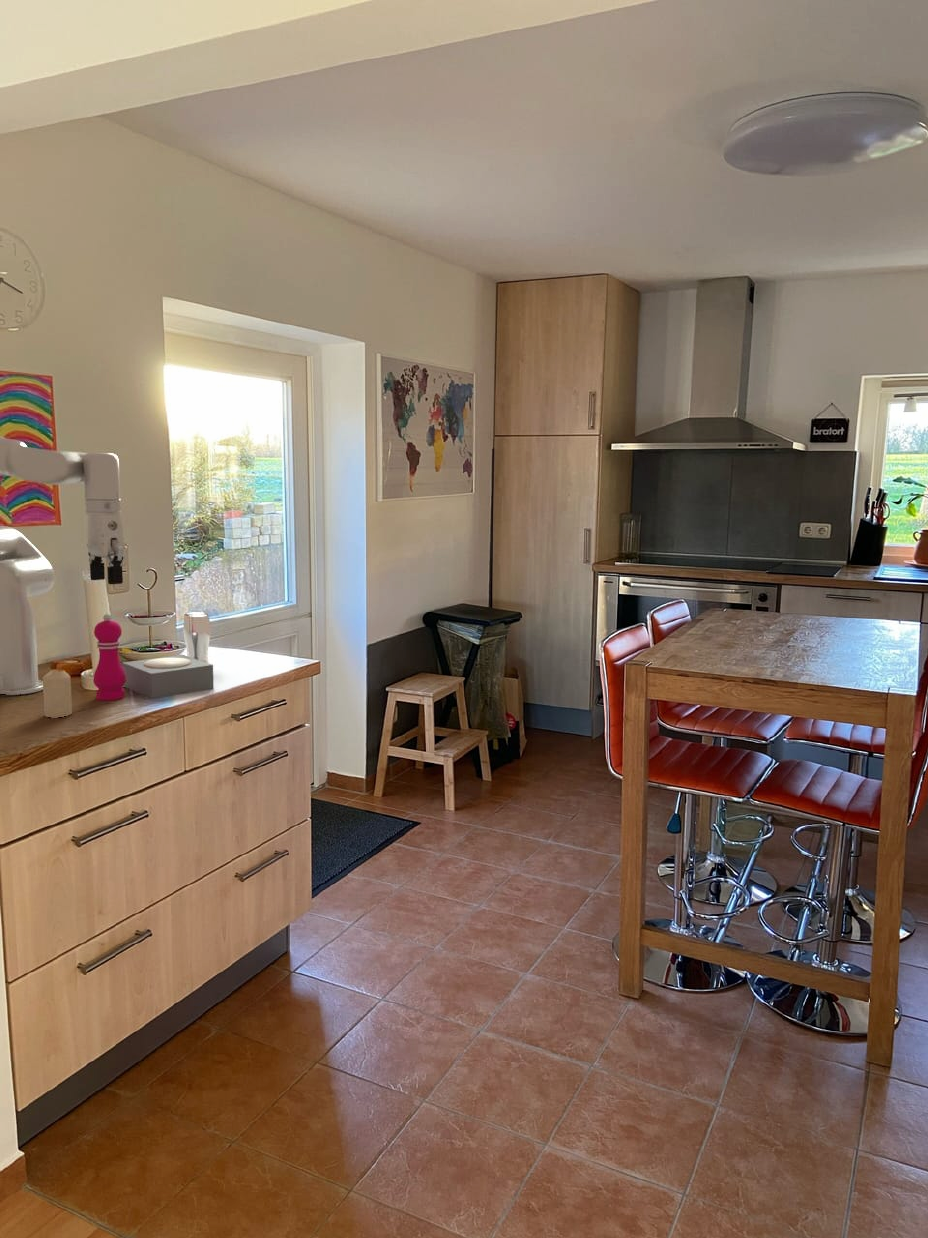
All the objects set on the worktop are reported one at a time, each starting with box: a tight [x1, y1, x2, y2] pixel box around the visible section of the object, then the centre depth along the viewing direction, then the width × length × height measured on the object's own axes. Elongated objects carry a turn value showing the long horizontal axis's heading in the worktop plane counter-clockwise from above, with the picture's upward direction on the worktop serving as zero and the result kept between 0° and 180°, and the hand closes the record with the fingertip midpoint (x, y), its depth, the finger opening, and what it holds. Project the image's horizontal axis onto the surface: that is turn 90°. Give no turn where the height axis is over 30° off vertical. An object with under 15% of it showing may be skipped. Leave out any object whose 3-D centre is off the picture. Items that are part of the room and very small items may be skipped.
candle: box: [42, 668, 73, 719], centre depth 196 cm, size 6×6×10 cm
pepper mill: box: [93, 613, 126, 702], centre depth 212 cm, size 7×7×20 cm
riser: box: [121, 654, 215, 699], centre depth 224 cm, size 16×16×6 cm
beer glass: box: [182, 612, 211, 663], centre depth 245 cm, size 7×7×15 cm
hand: (106, 581), depth 209 cm, fingers open, 9 cm apart
